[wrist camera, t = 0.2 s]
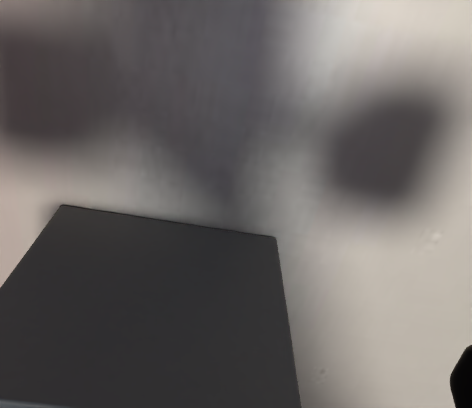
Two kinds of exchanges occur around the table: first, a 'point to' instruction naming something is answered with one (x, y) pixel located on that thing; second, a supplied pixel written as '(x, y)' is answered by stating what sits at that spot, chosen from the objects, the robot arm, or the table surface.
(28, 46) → the table surface
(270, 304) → the block
